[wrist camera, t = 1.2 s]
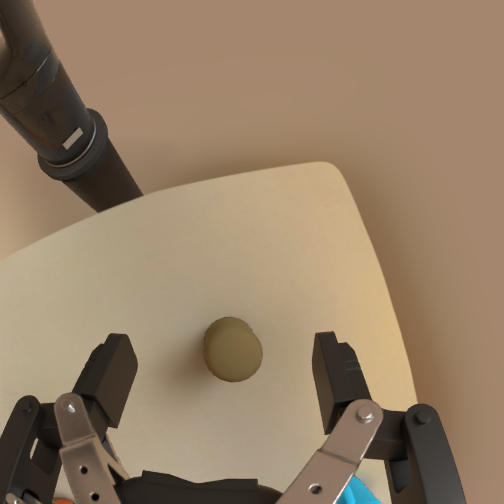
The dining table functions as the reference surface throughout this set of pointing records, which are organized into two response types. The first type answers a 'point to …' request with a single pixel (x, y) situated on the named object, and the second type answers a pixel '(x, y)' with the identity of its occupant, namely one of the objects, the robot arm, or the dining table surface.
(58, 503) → the toy tea set
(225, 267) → the dining table surface
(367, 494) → the mug
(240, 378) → the cork
